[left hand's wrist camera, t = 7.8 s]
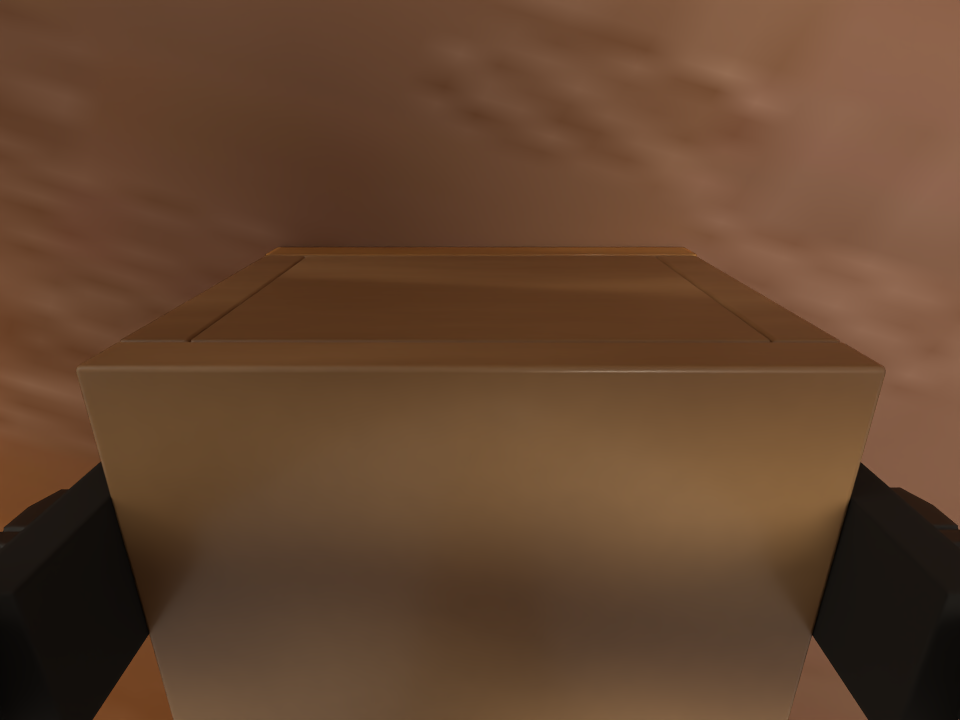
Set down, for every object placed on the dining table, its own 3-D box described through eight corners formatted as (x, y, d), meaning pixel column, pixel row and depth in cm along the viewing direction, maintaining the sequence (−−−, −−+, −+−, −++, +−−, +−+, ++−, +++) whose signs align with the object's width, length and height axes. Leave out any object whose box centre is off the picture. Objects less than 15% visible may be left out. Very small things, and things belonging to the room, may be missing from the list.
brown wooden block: (619, 750, 23) (691, 1074, 15) (342, 749, 23) (270, 1072, 15) (684, 247, 16) (890, 366, 8) (277, 247, 16) (69, 365, 8)
